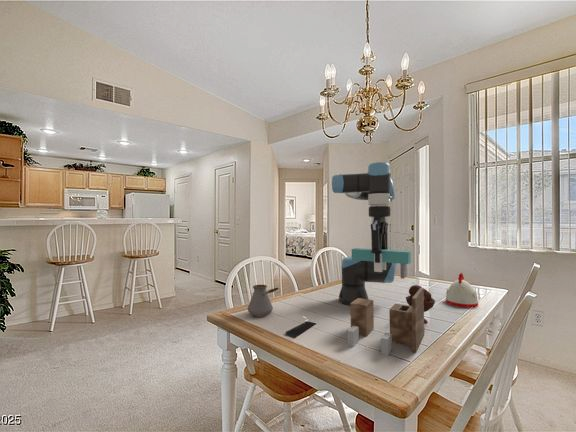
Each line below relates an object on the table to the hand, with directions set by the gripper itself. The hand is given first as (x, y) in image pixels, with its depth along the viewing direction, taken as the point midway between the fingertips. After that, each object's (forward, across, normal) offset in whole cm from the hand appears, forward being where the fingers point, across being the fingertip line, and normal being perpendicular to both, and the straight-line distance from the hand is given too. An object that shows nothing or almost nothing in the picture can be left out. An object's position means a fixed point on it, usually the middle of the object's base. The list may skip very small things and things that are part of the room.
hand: (380, 270), depth 104 cm
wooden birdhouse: (+24, 0, -8) cm, 26 cm away
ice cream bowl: (+25, +25, -9) cm, 36 cm away
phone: (+25, -9, +27) cm, 38 cm away
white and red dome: (+25, +63, -22) cm, 71 cm away
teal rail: (+2, 0, 0) cm, 2 cm away
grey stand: (+24, -12, 0) cm, 27 cm away
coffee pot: (+25, -5, +49) cm, 55 cm away
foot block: (+24, 0, +7) cm, 25 cm away
